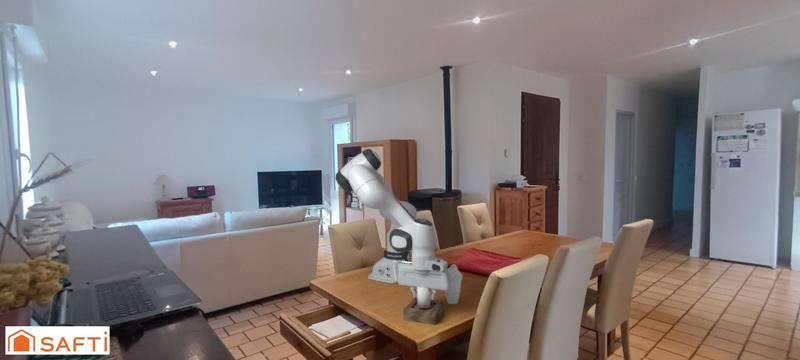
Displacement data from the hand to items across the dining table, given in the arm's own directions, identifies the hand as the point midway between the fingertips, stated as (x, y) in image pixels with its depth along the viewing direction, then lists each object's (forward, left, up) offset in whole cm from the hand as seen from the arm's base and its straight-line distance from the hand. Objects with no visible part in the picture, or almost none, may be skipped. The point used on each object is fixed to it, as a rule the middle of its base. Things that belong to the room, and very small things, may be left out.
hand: (423, 298), depth 139 cm
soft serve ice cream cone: (+7, +16, -7) cm, 19 cm away
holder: (0, 0, -7) cm, 7 cm away
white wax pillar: (0, 0, -3) cm, 3 cm away
